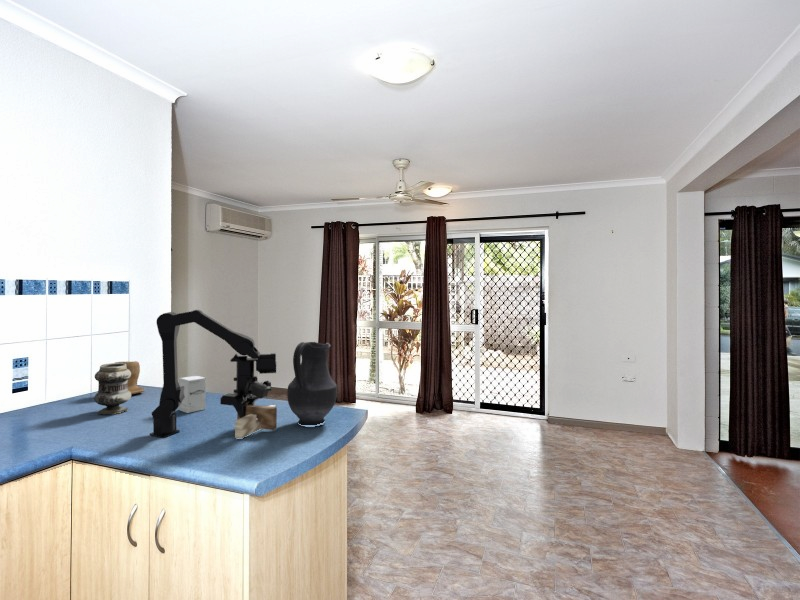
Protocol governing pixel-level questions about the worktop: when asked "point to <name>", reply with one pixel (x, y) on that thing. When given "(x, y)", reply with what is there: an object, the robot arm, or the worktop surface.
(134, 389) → the curved wooden stand
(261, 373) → the robot arm
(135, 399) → the worktop surface
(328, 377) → the pitcher
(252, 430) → the birch rail
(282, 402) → the worktop surface
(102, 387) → the apothecary jar
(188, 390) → the supplement box
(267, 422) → the walnut bar
